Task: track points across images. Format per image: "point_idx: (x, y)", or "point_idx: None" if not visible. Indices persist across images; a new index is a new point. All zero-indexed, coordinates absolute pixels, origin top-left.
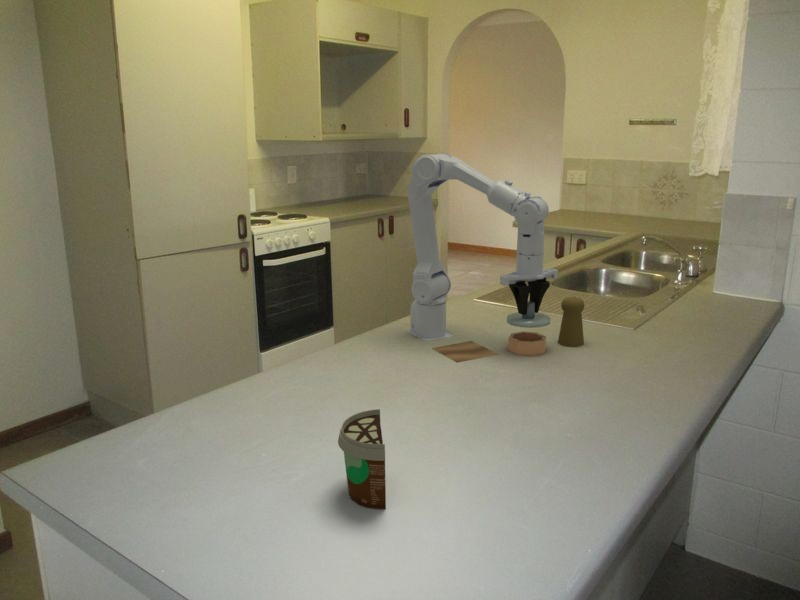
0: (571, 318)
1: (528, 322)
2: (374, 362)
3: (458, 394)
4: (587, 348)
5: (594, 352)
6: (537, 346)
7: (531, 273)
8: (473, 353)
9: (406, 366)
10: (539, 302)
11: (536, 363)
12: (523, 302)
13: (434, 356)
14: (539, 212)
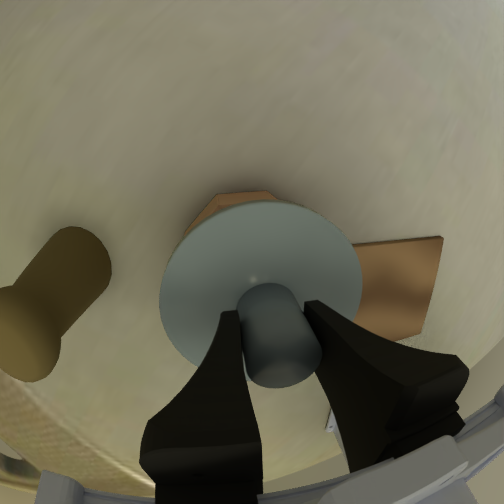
0: (48, 285)
1: (325, 234)
2: (489, 300)
3: (492, 107)
4: (58, 201)
5: (59, 160)
6: (251, 199)
7: (461, 499)
8: (389, 276)
9: (482, 267)
10: (228, 340)
11: (285, 143)
12: (364, 330)
13: (434, 299)
14: None
